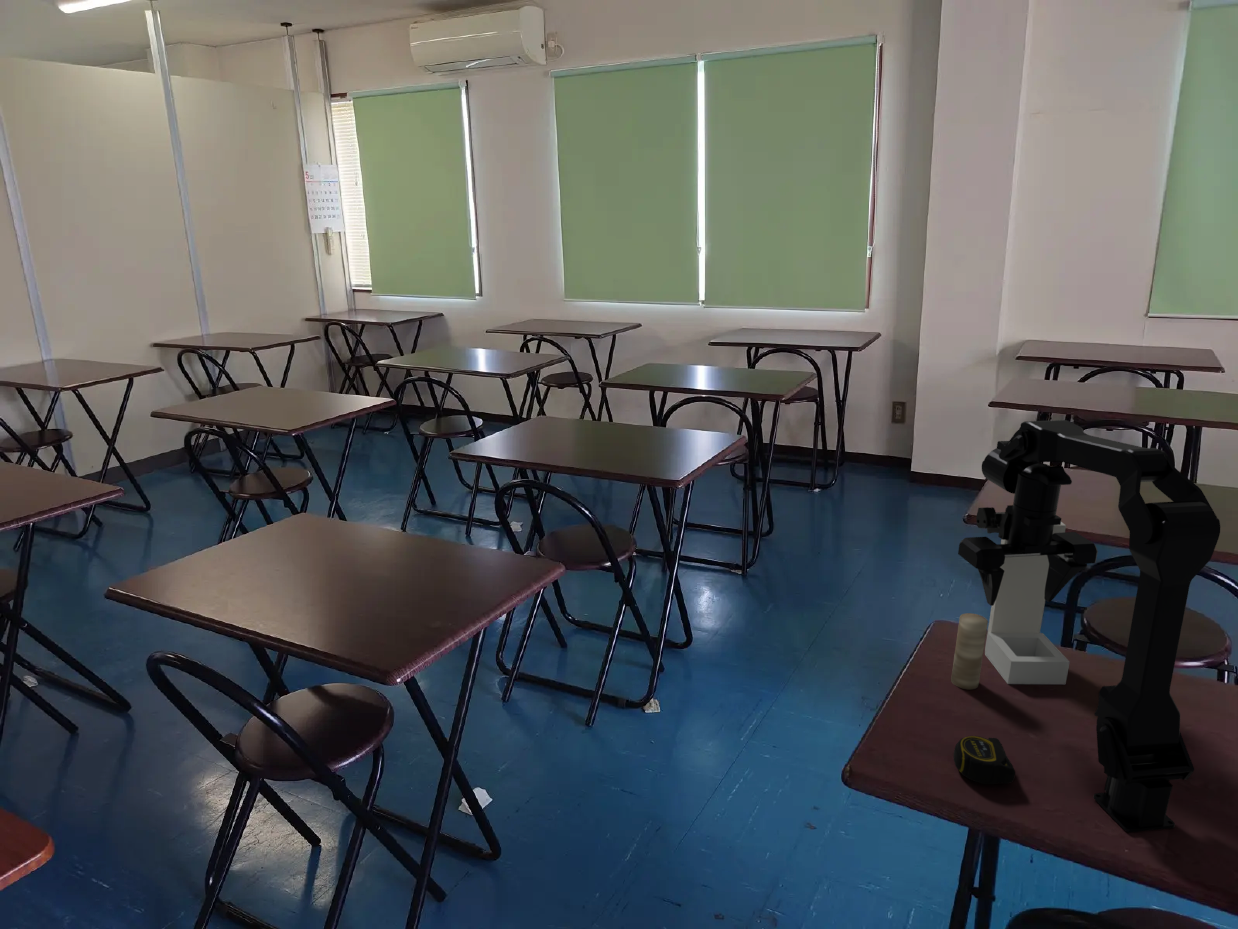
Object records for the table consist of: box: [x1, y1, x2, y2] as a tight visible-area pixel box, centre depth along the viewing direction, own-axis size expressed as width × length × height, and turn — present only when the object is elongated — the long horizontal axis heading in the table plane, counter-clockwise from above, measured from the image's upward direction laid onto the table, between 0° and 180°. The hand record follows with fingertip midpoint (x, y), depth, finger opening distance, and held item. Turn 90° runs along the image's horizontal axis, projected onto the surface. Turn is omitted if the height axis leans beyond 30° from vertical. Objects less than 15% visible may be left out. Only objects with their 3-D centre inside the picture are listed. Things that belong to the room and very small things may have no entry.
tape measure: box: [953, 735, 1016, 785], centre depth 113 cm, size 7×7×4 cm
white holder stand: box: [984, 521, 1070, 685], centre depth 135 cm, size 10×9×24 cm
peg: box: [950, 612, 989, 690], centre depth 132 cm, size 4×4×11 cm
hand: (1018, 602), depth 128 cm, fingers open, 9 cm apart
